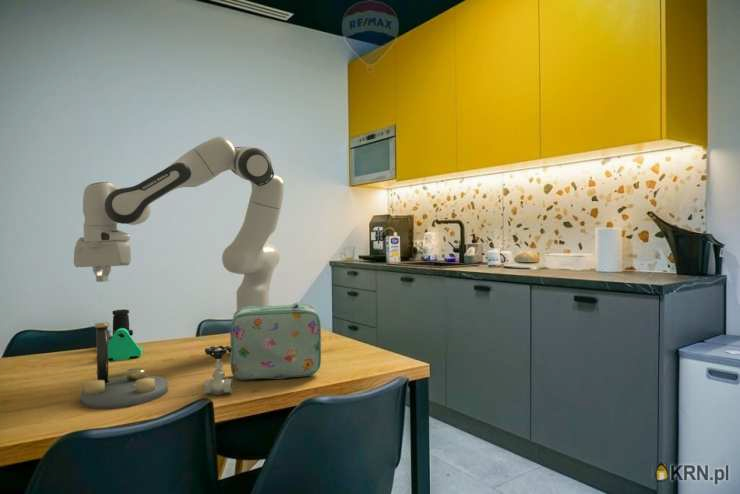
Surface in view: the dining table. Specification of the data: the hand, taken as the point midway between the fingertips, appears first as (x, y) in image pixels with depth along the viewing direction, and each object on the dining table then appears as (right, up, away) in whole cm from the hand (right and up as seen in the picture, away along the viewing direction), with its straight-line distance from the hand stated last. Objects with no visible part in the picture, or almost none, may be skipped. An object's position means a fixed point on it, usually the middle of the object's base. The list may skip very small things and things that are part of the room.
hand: (102, 281), depth 143 cm
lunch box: (+54, -27, -5) cm, 61 cm away
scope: (-11, -27, +32) cm, 44 cm away
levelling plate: (+18, -28, -21) cm, 39 cm away
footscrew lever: (+14, -25, -16) cm, 33 cm away
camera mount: (-4, -28, +18) cm, 33 cm away
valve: (+42, -28, -21) cm, 55 cm away
